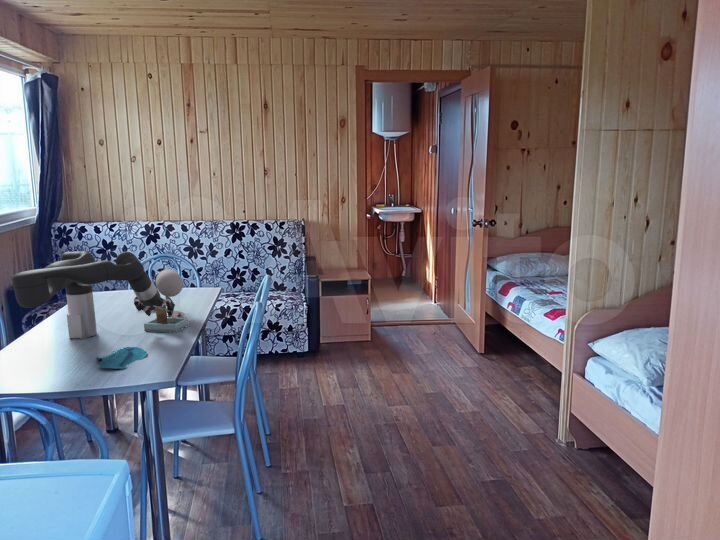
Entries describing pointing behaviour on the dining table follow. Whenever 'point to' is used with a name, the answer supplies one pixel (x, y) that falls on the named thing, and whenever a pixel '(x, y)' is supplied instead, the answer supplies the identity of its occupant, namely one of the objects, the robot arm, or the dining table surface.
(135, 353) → the mineral
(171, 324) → the bin
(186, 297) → the dining table surface
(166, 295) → the light fixture
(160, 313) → the dowel
